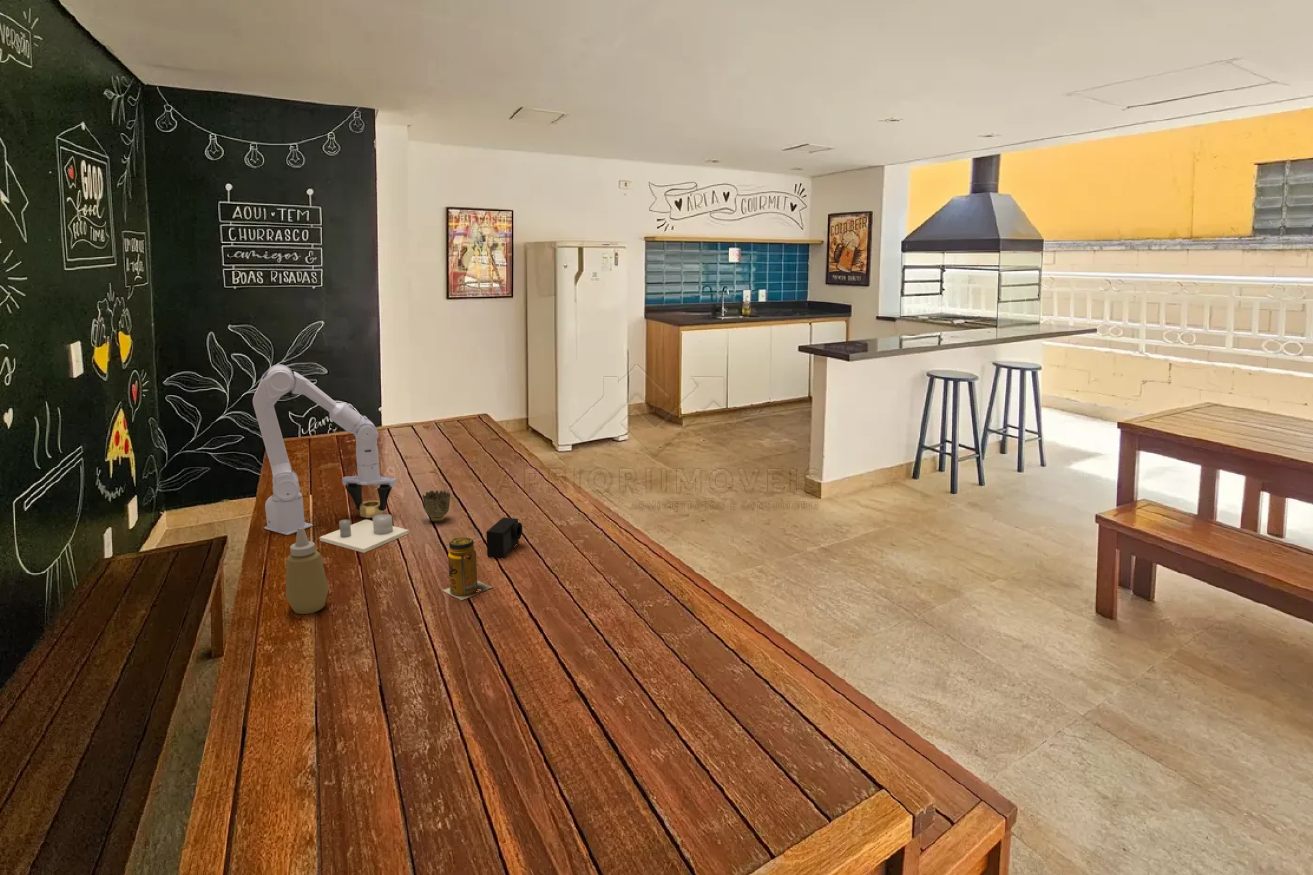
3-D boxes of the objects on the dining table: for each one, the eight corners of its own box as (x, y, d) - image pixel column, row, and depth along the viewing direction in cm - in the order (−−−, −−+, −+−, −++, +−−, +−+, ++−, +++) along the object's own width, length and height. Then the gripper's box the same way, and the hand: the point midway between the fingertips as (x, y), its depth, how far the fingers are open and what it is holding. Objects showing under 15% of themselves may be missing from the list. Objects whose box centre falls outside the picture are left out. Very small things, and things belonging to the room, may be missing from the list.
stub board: (319, 540, 186) (318, 522, 185) (366, 522, 199) (364, 505, 198) (363, 552, 179) (362, 534, 178) (408, 533, 192) (407, 515, 191)
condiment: (441, 590, 160) (439, 541, 157) (473, 578, 167) (471, 530, 164) (461, 601, 156) (458, 550, 153) (492, 588, 162) (491, 539, 159)
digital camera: (507, 559, 178) (506, 533, 176) (487, 557, 179) (486, 531, 177) (523, 543, 188) (522, 518, 186) (503, 541, 188) (502, 516, 187)
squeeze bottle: (316, 595, 157) (308, 518, 152) (337, 606, 152) (330, 527, 148) (280, 610, 150) (270, 529, 146) (301, 621, 146) (292, 539, 141)
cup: (443, 526, 198) (442, 499, 196) (419, 524, 199) (417, 496, 197) (456, 517, 205) (454, 490, 203) (432, 515, 206) (430, 488, 204)
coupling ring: (356, 515, 202) (355, 505, 201) (372, 509, 207) (371, 499, 206) (371, 518, 200) (370, 508, 199) (387, 512, 205) (386, 502, 204)
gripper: (335, 466, 196) (339, 513, 199) (387, 468, 196) (391, 515, 199) (347, 459, 203) (351, 504, 206) (397, 461, 202) (400, 506, 206)
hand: (371, 509), depth 203 cm, fingers closed on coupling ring, 6 cm apart
